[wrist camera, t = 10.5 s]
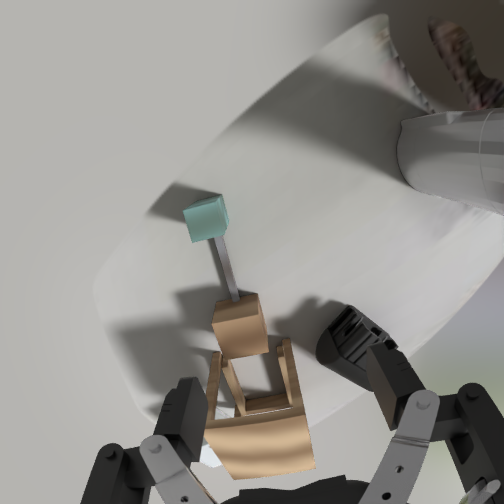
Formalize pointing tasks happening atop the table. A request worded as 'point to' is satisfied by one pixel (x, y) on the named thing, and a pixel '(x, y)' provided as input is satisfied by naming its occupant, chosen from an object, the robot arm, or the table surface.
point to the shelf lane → (260, 425)
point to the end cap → (351, 345)
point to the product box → (206, 451)
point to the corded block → (238, 308)
